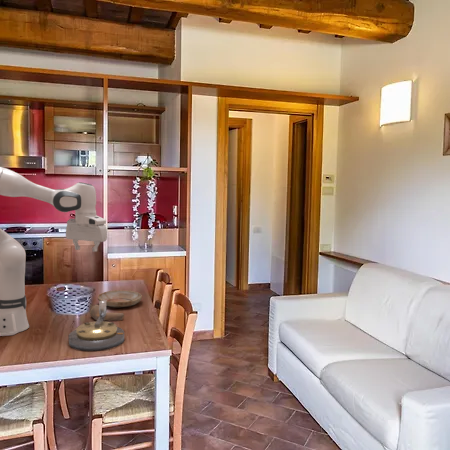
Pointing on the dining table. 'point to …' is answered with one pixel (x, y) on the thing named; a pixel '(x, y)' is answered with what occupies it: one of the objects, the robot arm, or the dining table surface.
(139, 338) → the dining table surface
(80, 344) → the disc
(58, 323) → the dining table surface
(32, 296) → the dining table surface
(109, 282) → the dining table surface
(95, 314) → the pipe
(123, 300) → the ceramic bowl
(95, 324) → the round gold-topped disc
